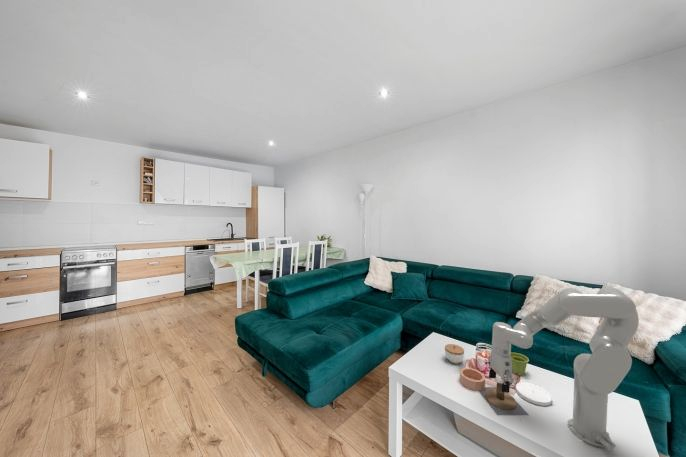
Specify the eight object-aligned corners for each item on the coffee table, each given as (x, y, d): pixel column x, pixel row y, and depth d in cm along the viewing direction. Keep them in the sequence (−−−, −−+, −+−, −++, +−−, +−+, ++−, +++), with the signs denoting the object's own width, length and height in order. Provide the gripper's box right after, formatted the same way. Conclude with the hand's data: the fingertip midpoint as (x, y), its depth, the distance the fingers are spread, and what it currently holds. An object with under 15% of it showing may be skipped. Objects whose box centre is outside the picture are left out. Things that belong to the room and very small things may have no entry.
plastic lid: (514, 383, 130) (514, 379, 130) (548, 393, 123) (548, 388, 122) (516, 400, 118) (517, 395, 118) (555, 412, 111) (555, 406, 110)
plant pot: (532, 377, 134) (533, 361, 134) (515, 377, 134) (515, 361, 134) (520, 367, 144) (521, 352, 143) (504, 367, 144) (504, 352, 144)
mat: (529, 416, 108) (529, 415, 108) (497, 415, 108) (497, 415, 108) (502, 387, 126) (502, 387, 126) (475, 387, 126) (475, 387, 126)
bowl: (489, 391, 123) (489, 381, 123) (466, 391, 123) (466, 381, 123) (477, 376, 135) (477, 367, 135) (456, 376, 135) (456, 367, 135)
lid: (522, 410, 111) (523, 394, 111) (495, 410, 111) (495, 394, 111) (504, 390, 123) (505, 376, 123) (479, 390, 123) (480, 376, 123)
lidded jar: (440, 358, 153) (441, 343, 152) (453, 354, 157) (453, 339, 157) (455, 367, 143) (455, 352, 143) (468, 363, 147) (468, 347, 147)
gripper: (522, 360, 108) (519, 398, 109) (497, 340, 125) (495, 373, 126) (505, 360, 108) (502, 398, 109) (482, 340, 125) (480, 372, 126)
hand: (498, 384), depth 117 cm, fingers open, 9 cm apart
